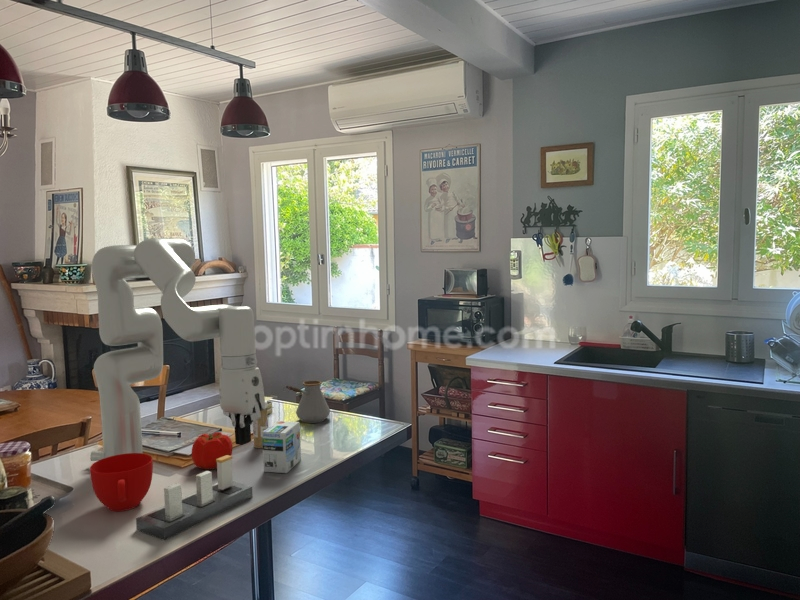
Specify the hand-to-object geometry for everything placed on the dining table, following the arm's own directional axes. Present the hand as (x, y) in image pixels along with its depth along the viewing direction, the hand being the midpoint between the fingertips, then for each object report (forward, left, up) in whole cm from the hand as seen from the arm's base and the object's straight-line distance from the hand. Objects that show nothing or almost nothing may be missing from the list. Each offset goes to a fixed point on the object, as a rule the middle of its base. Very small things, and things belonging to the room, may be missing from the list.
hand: (243, 442), depth 134 cm
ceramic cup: (-27, -1, -15) cm, 31 cm away
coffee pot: (+2, +63, -15) cm, 64 cm away
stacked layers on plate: (-16, +76, -15) cm, 79 cm away
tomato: (-16, +25, -15) cm, 33 cm away
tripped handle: (-6, +3, -11) cm, 13 cm away
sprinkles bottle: (-7, +41, -15) cm, 44 cm away
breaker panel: (-10, -4, -14) cm, 18 cm away
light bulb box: (+3, +25, -15) cm, 29 cm away
